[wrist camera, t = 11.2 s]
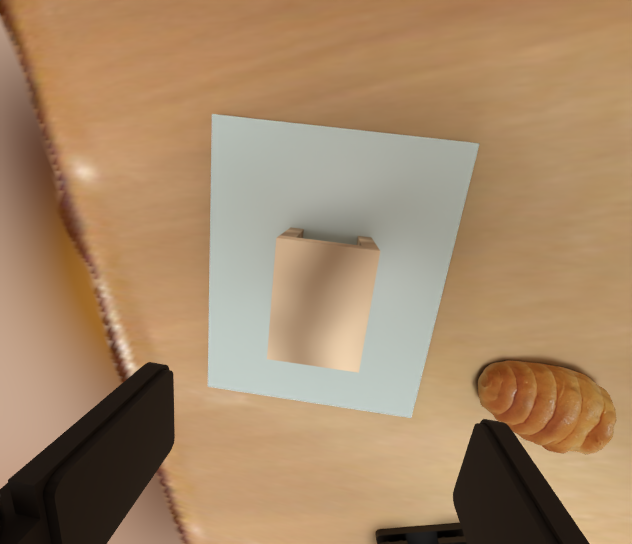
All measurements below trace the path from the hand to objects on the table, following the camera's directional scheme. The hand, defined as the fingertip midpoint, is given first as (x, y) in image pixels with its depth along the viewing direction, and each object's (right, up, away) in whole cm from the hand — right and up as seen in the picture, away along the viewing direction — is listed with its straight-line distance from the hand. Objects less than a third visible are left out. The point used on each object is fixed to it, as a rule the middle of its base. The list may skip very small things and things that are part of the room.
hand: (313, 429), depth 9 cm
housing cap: (+1, +4, +14) cm, 14 cm away
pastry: (+19, -6, +16) cm, 25 cm away
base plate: (+1, +4, +15) cm, 15 cm away
